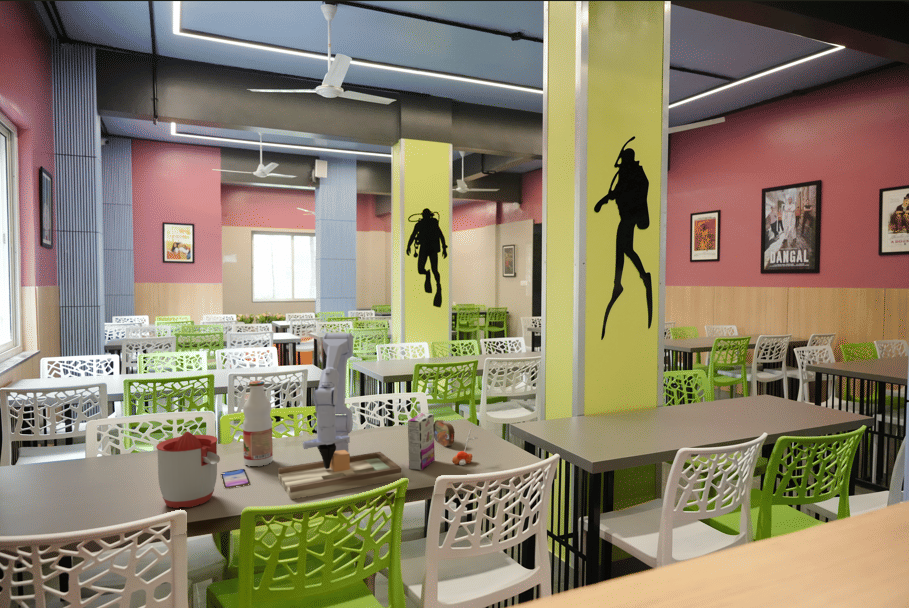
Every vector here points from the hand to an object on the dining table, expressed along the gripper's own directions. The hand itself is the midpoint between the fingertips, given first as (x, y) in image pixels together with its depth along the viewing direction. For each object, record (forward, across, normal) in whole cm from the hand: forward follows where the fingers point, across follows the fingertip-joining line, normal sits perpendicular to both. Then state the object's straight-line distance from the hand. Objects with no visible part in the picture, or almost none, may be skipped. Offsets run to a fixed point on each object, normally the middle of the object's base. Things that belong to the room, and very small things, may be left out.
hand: (326, 467), depth 176 cm
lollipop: (+3, +45, -10) cm, 46 cm away
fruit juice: (+3, -17, +25) cm, 30 cm away
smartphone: (+3, -26, +12) cm, 29 cm away
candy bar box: (+3, +31, -4) cm, 32 cm away
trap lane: (+3, +3, -4) cm, 6 cm away
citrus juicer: (+3, -39, -1) cm, 39 cm away
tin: (+3, +49, +14) cm, 51 cm away
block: (+1, +4, 0) cm, 4 cm away
